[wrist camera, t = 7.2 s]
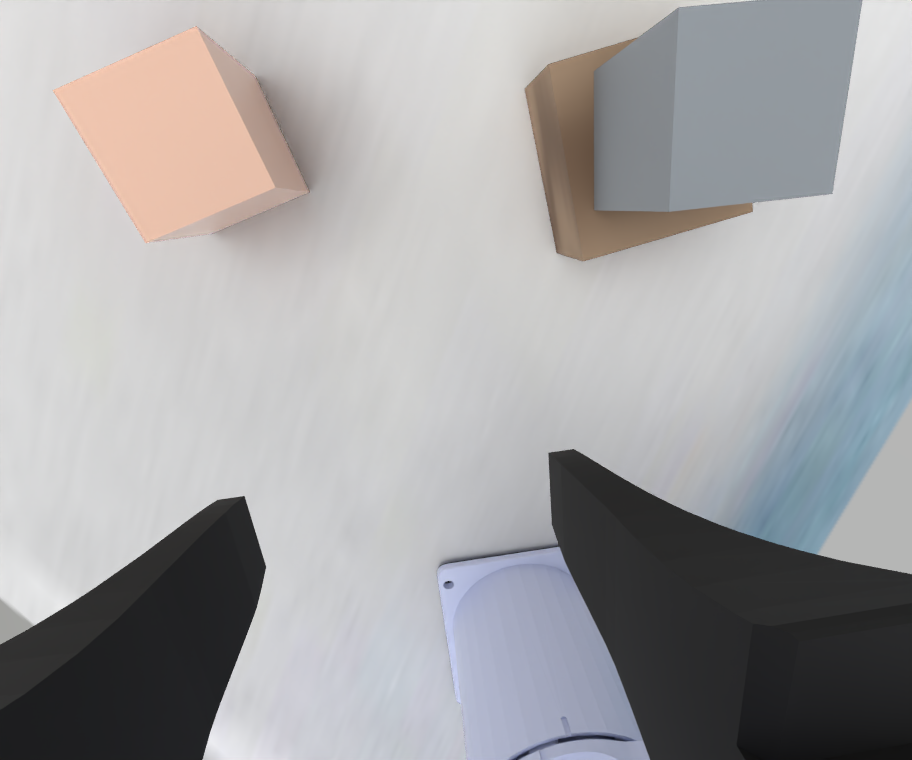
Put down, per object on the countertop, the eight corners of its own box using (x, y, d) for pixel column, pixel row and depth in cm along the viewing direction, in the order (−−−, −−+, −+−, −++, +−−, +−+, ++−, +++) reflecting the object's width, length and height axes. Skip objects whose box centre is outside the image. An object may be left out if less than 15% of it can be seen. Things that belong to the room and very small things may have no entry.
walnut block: (695, 210, 20) (752, 211, 17) (554, 252, 20) (583, 261, 17) (680, 43, 18) (741, 7, 14) (522, 90, 18) (548, 63, 15)
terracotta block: (310, 192, 18) (275, 187, 13) (213, 233, 18) (145, 243, 14) (255, 76, 17) (196, 25, 12) (151, 122, 17) (52, 90, 12)
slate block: (710, 197, 16) (832, 193, 12) (593, 210, 16) (668, 211, 11) (721, 59, 15) (863, -10, 10) (593, 71, 15) (678, 7, 10)
